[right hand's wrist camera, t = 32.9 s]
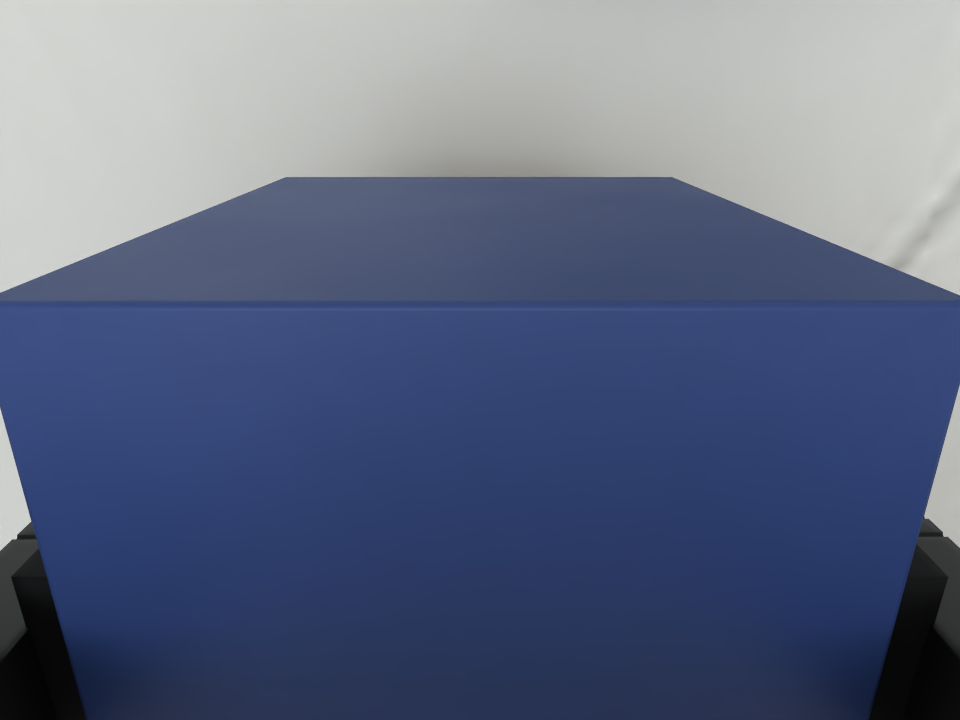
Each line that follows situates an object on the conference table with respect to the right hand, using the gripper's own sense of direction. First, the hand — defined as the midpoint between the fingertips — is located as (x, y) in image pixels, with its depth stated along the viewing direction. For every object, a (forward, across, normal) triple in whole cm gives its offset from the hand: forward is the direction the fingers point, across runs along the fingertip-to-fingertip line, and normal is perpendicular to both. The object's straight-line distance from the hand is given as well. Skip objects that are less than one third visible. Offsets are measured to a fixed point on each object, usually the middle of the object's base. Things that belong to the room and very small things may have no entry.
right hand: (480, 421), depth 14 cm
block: (+3, 0, 0) cm, 3 cm away
